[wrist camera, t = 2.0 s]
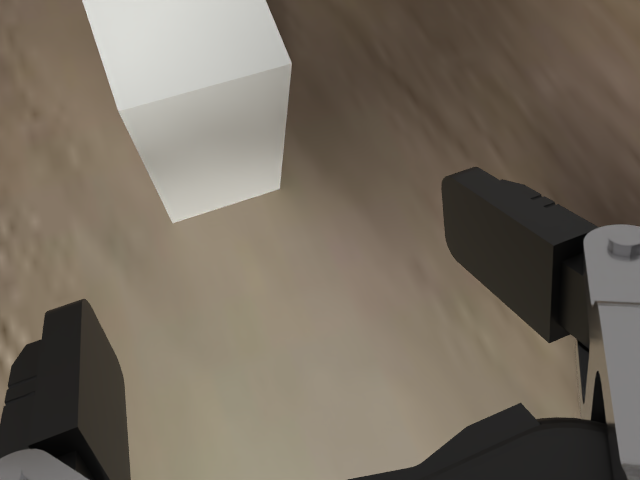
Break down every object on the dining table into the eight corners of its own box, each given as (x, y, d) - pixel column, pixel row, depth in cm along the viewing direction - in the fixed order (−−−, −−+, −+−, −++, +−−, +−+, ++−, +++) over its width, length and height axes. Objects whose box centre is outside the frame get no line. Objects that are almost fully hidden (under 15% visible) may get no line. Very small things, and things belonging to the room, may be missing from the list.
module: (250, 114, 27) (246, -47, 17) (279, 189, 26) (291, 63, 16) (146, 144, 26) (79, -9, 16) (172, 223, 25) (118, 111, 15)
